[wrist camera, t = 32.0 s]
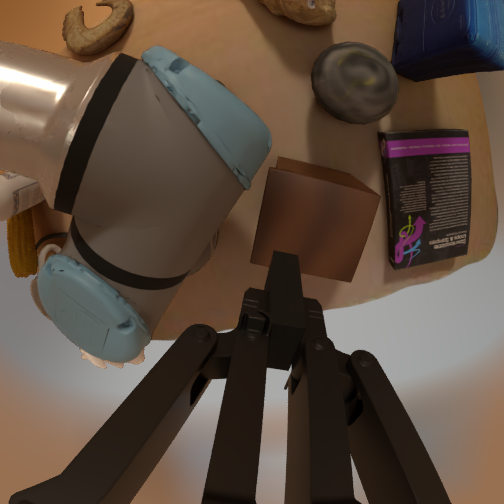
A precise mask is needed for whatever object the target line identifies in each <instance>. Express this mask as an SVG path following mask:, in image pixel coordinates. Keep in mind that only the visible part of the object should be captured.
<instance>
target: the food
mask: <svg viewBox="0 0 504 504" xmlns="http://www.w3.org/2000/svg"><path fill="white" fill-rule="evenodd" d="M7 240H8V251H9V258H10V265H11V268H12V270H13V272H14V274H15V276H16V277H18V278H19V277H28V276H29V275H31V274H33V275H35V274H36V272H37V267H38V260H37V259H38V257H37V250H36V244H35V237H34V230H33V220H32V214H31V207H30V208H28V209H26V210H24V211H22V212H20V213H18V214H16V215H14V216H13V217H11V218H9V219H7Z"/></svg>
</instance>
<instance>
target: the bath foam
mask: <svg viewBox="0 0 504 504" xmlns="http://www.w3.org/2000/svg"><path fill="white" fill-rule="evenodd" d="M44 200H46V199H45V197H44V194H43V192H42V190H41V188H40V185H39V184H38V182H37V181H36V180H33V179H30V178H27V177H24V176H20V175H17V174H14V173H10V172H7V173H4V174H1V175H0V221H4V220H6V219H9V218H11V217H13V216H14V215H16V214H18V213H20V212H22V211H24V210H26V209H28V208H30V207H32V206H34V205H36V204H38V203H40V202H42V201H44Z"/></svg>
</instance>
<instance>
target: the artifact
mask: <svg viewBox="0 0 504 504" xmlns="http://www.w3.org/2000/svg"><path fill="white" fill-rule="evenodd" d="M96 6H110V7H111V8H112V14H111V15H110V17H109V18H108V19H107V20H106V21H104V22H103V23H102V24H100V25H99V26H97V27H95V28H92V29H89V28H87V27H86V26H85V25H84V12H83V11H81V9H82V6H78V7H76V8H74V9H73V10H71V11H70V12H68V13H67V14H66V15H65V20H64V23H63V25H64V26H63V33H62V36H63V38H64V41H66V44H67V47H68V48H69V49H70V50H71V51H72V52H73V53H76V54H81V55H91V54H95V53H98V52H100V51H102V50H104V49H106V48H107V47H109V46H110V45H112V44H113V43H114V42H115V41H116V40H117V39H118V38H119V37H120V36H121V35H122V34H123V33H124V31H125V30H126V28H127V27H128V25H129V23H130V21H131V19H132V13H133V7H132V3H131V2H130V1H129V0H103V1H100V2H98V3H96Z"/></svg>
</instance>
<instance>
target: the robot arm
mask: <svg viewBox="0 0 504 504" xmlns="http://www.w3.org/2000/svg"><path fill="white" fill-rule="evenodd" d="M141 57H142V58H143V59H142V60H139V59H135V58H133V57H131V56H128V55H126V54H123V53H121V52H118V51H116V52H114V53H111V54H109V55H106V56H104V57H101V58H99V59H96V60H94V61H91V62H86V63H83V62H80V61H77V60H74V59H71V58H68V57H65V56H61V55H58V54H54V53H51V52H47V51H44V50H40V49H36V48H32V47H28V46H24V45H19V44H14V43H9V42H4V41H0V170H4V171H7V172H10V173H14V174H17V175H20V176H24V177H27V178H30V179H33V180H36V181H37V182H38V184H39V185H40V188H41V190H42V192H43V194H44V197H45V199H46V201H47V203H48V205H49V207H50V208H51V209H53V210H58V211H61V212H64V213H68V214H71V215H73V217H72V221H71V224H70V228H69V232H68V233H58V234H51V235H48V236H45V237H43V238H42V239H40V240H39V241H38V243H37V244H36V249H37V248H38V247H39V245H40V244H41V243H42V242H43V241H45V240H48V239H51V238H57V237H67V240H66V243H65V245H64V247H63V248H62V250H61V251H60V252H59V253H57V254H56V255H54V254H53V255H51V256H50V257H48V260H47V261H46V263H45V264H44V265H43V266H42V267H41V269H40V271H39V273H38V277H37V287H38V293H39V297H40V299H41V302H42V304H43V307H44V308H45V310H46V312H47V314H48V315H49V317H50V318H51V319H52V321H53V323H54V324H55V325H56V326H57V328H58V329H59V330H60V331H61V332H62V333H63V334H64V335H65V336H66V337H67V338H68V339H69V340H70V341H72V342H73V343H74V344H75V345H77V346H78V347H79V348H81V349H82V350H84V351H85V352H87V353H89V354H90V355H92V356H94V357H97V358H99V359H102V360H107V361H110V362H114V363H125V362H129V361H132V360H134V359H135V358H137V357H138V356H139V354H140V353H141V352H142V350H143V348H144V347H145V346H147V345H148V344H149V343H150V340H151V334H152V333H153V331H154V329H155V327H156V325H157V324H158V322H159V320H160V318H161V317H162V315H163V313H164V312H165V310H166V308H167V307H168V305H169V303H170V302H171V300H172V298H173V297H174V295H175V294H176V292H177V290H178V289H179V287H180V286H181V284H182V282H183V281H184V279H185V278H186V277H187V276H190V275H192V274H194V273H195V272H197V271H198V270H200V269H201V268H202V267H203V266H204V265H205V264H206V263H207V262H208V260H209V259H210V257H212V255H213V252H214V250H215V247H216V244H217V241H218V234H219V226H220V225H221V223H222V222H223V220H224V219H225V218H226V216H227V215H228V213H229V212H230V210H231V209H232V207H233V206H234V204H235V203H236V201H237V200H238V199H239V197H240V196H241V194H242V193H243V191H244V190H249V188H250V187H251V180H252V179H253V177H254V175H255V174H256V172H257V171H258V169H259V168H260V166H261V165H262V163H263V161H264V160H265V158H266V157H267V155H268V154H269V152H270V149H271V145H272V139H271V134H270V131H269V129H268V127H267V126H266V124H265V123H264V122H263V121H262V120H261V119H260V117H259V116H258V115H257V114H256V113H254V112H253V111H252V110H251V109H250V108H249V107H248V106H247V105H246V104H245V103H243V102H242V101H241V100H240V99H239V98H238V97H236V96H235V95H234V94H233V93H232V92H230V91H229V90H228V89H227V88H225V87H224V86H223V85H221V84H220V83H219V82H217V81H216V80H215V79H213V78H212V77H211V76H209V75H208V74H206V73H205V72H203V71H202V70H200V69H199V68H197V67H196V66H194V65H191V64H190V63H189V62H188V61H186V60H184V59H182V58H181V57H179V56H178V55H177V54H175V53H174V52H172V51H170V50H168V49H166V48H164V47H162V46H158V45H157V46H153V47H151V48H150V49H149V50H147V51H145V52H143V54H142V56H141ZM291 364H292V371H291V374H290V376H289V378H288V380H287V382H286V385H285V387H284V389H285V390H286V389H287V387H288V433H287V462H286V484H285V503H284V504H361V503H360V502H359V501H357V500H356V499H355V498H354V490H353V477H352V466H351V457H350V456H352V459H353V461H354V464H355V467H356V470H357V472H358V475H359V478H360V480H361V483H362V486H363V489H364V491H365V494H366V497H367V500H368V502H369V504H452V503H451V502H450V500H449V497H448V495H447V493H446V491H445V488H444V486H443V484H442V482H441V480H440V477H439V475H438V473H437V471H436V469H435V467H434V465H433V463H432V461H431V459H430V457H429V454H428V452H427V451H426V448H425V446H424V444H423V442H422V441H421V439H420V437H419V435H418V433H417V431H416V429H415V427H414V425H413V423H412V421H411V420H410V418H409V416H408V414H407V412H406V410H405V409H404V407H403V405H402V403H401V401H400V399H399V397H398V396H397V394H396V392H395V390H394V388H393V387H392V385H391V383H390V381H389V380H388V378H387V376H386V374H385V373H384V371H383V369H382V367H381V366H380V364H379V362H378V361H377V359H376V358H375V356H374V355H372V354H371V353H369V352H367V351H365V350H357V351H354V352H353V353H352V354H351V355H348V354H345V353H342V352H340V351H338V350H336V349H335V346H334V344H333V342H332V341H331V340H330V339H329V338H328V337H327V333H326V328H325V323H324V316H323V311H322V306H321V305H320V303H319V302H318V301H317V300H316V299H311V298H305V297H303V292H302V283H301V275H300V266H299V258H298V255H295V254H290V253H285V252H280V251H275V250H274V251H273V255H272V259H271V263H270V267H269V271H268V276H267V280H266V284H265V288H264V290H260V289H255V288H249V289H248V290H247V291H246V292H245V293H244V298H243V303H242V308H241V312H240V317H239V322H238V325H237V327H236V328H235V329H234V330H232V331H230V332H227V333H217V332H216V331H215V330H214V329H213V328H212V327H210V326H208V325H204V324H195V325H191V326H189V327H188V328H187V329H186V330H185V331H184V332H183V333H182V334H181V335H180V337H179V338H178V339H177V340H176V341H175V343H174V344H173V345H172V346H171V347H170V348H169V349H168V351H167V352H166V353H165V354H164V355H163V356H162V358H161V359H160V360H159V361H158V362H157V363H156V364H155V366H154V367H153V368H152V369H151V370H150V371H149V373H148V374H147V375H146V376H145V377H144V379H143V380H142V381H141V382H140V383H139V384H138V385H137V386H136V388H135V389H134V390H133V391H132V392H131V393H130V395H129V396H128V397H127V398H126V399H125V400H124V402H123V403H122V404H121V405H120V406H119V407H118V409H117V410H116V411H115V412H114V413H113V414H112V416H111V417H110V418H109V419H108V420H107V421H106V422H105V424H104V425H103V426H102V427H101V428H100V429H99V430H98V432H97V433H96V434H95V435H94V436H93V437H92V439H91V440H90V441H89V442H88V443H87V444H86V445H85V447H84V448H83V449H82V450H81V451H80V452H79V454H78V455H77V456H76V457H75V458H74V459H73V461H72V462H71V463H70V464H69V465H68V466H67V467H66V469H65V470H64V471H63V472H62V473H61V474H60V475H58V476H56V477H53V478H51V479H49V480H47V481H44V482H42V483H40V484H37V485H35V486H32V487H30V488H27V489H24V490H22V491H19V492H16V493H15V494H13V495H12V496H11V498H10V500H9V504H130V503H131V501H132V500H133V498H134V497H135V495H136V494H137V493H138V491H139V490H140V488H141V487H142V485H143V484H144V483H145V481H146V480H147V478H148V477H149V475H150V474H151V472H152V471H153V470H154V468H155V467H156V465H157V464H158V462H159V461H160V459H161V458H162V456H163V455H164V453H165V452H166V450H167V449H168V447H169V446H170V444H171V443H172V441H173V440H174V438H175V436H176V435H177V433H178V432H179V431H180V429H181V427H182V426H183V424H184V423H185V421H186V420H187V418H188V417H189V415H190V414H191V412H192V410H193V409H194V407H195V406H196V404H197V403H198V401H199V399H200V398H201V396H202V395H203V393H204V391H205V390H206V388H207V387H208V385H209V383H210V381H211V380H212V379H225V378H227V380H226V385H225V390H224V395H223V400H222V405H221V410H220V415H219V420H218V425H217V429H216V434H215V439H214V444H213V449H212V454H211V459H210V464H209V468H208V473H207V478H206V483H205V488H204V493H203V498H202V503H201V504H256V501H255V495H256V484H257V475H258V465H259V454H260V443H261V433H262V420H263V409H264V397H265V384H266V370H267V368H274V369H280V370H287V371H288V370H289V368H290V366H291ZM350 454H351V455H350Z"/></svg>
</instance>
